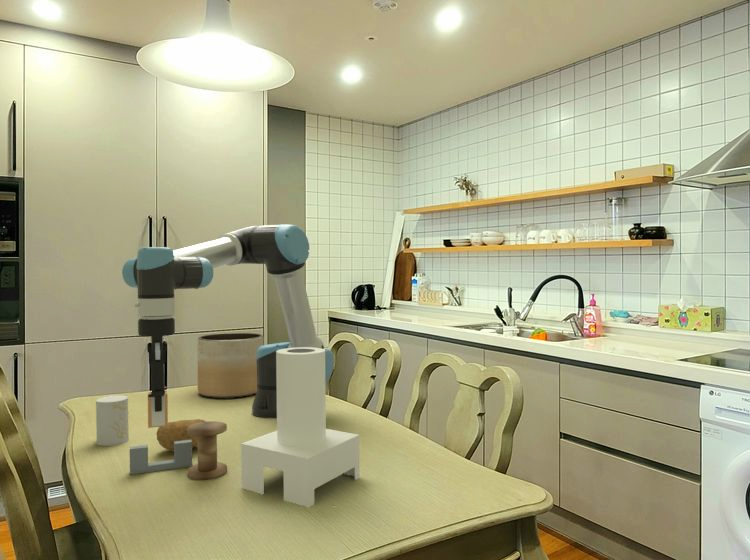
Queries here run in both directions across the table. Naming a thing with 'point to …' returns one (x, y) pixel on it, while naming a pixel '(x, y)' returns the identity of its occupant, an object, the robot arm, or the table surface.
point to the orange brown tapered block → (151, 413)
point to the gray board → (180, 460)
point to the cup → (112, 420)
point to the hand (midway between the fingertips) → (158, 422)
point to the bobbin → (207, 450)
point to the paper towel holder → (300, 432)
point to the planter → (228, 364)
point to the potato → (176, 433)
